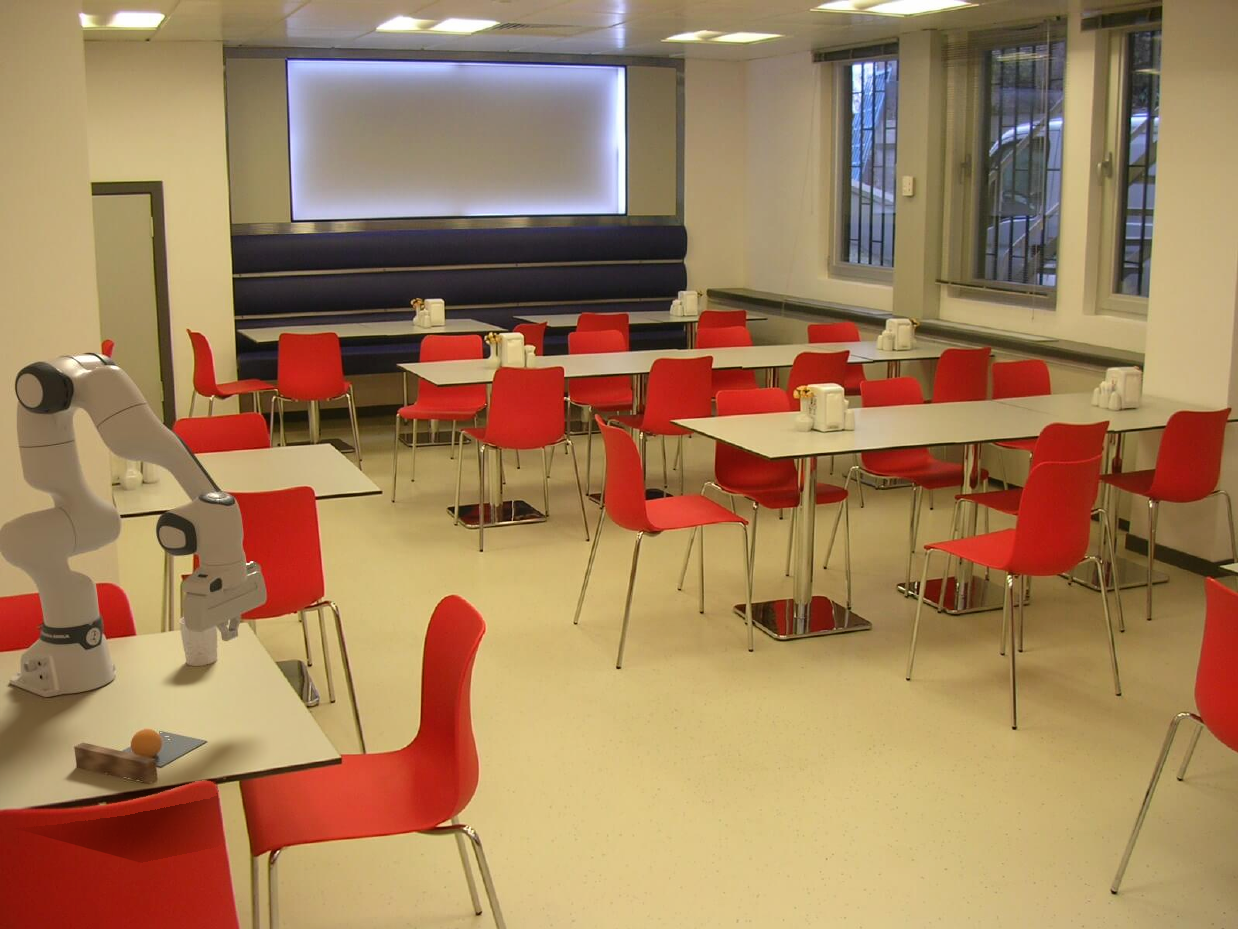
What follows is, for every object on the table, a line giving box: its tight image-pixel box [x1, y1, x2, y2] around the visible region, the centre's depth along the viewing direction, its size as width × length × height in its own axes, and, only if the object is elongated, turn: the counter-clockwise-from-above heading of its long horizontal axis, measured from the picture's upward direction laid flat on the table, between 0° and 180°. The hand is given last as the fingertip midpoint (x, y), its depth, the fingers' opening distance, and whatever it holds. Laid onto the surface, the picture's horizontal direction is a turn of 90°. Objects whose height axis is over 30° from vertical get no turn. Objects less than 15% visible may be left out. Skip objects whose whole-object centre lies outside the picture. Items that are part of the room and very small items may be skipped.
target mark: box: [122, 730, 208, 768], centre depth 252 cm, size 12×12×1 cm
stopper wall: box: [73, 742, 158, 785], centre depth 242 cm, size 18×2×4 cm, turn 64°
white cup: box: [178, 616, 218, 667], centre depth 296 cm, size 8×8×10 cm
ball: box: [130, 728, 162, 758], centre depth 248 cm, size 6×6×6 cm
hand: (230, 638), depth 267 cm, fingers closed
